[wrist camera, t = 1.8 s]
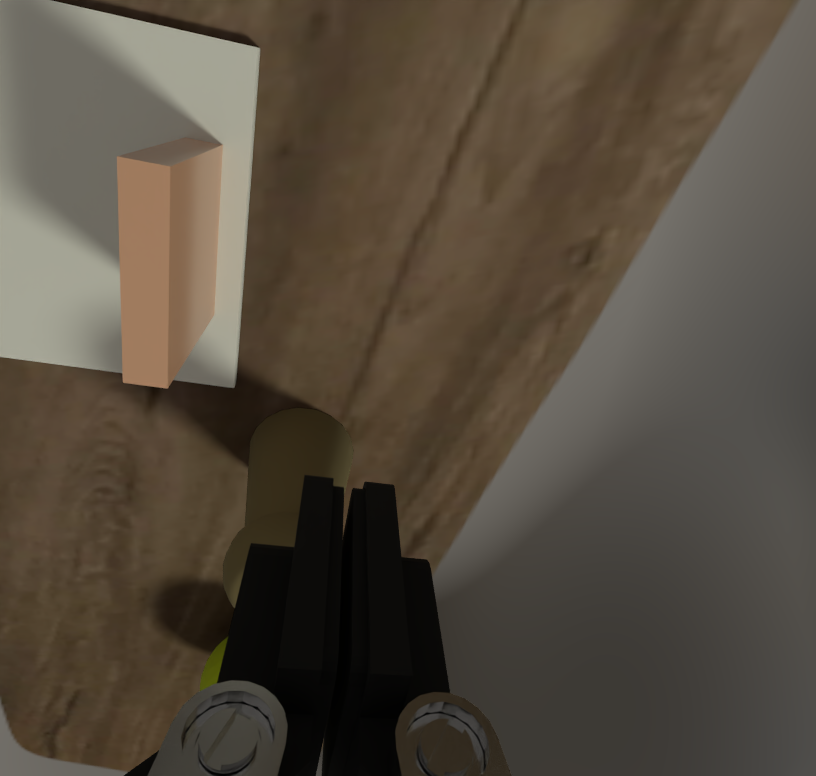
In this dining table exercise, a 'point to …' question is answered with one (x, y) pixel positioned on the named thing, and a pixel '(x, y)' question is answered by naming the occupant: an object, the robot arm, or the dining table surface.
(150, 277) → the tile
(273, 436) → the cork
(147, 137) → the mat
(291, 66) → the dining table surface
